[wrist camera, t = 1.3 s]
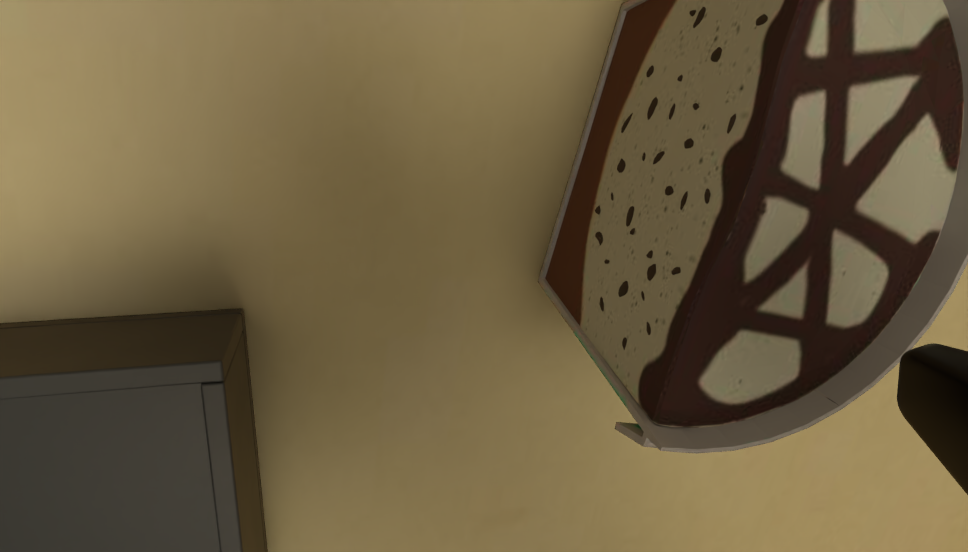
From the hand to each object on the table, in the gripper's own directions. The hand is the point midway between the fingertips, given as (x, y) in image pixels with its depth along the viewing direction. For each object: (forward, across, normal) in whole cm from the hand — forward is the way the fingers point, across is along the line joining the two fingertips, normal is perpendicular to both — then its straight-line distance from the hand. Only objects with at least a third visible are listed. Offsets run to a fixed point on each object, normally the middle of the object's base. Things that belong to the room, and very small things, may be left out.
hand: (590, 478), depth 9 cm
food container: (+15, -7, +2) cm, 17 cm away
